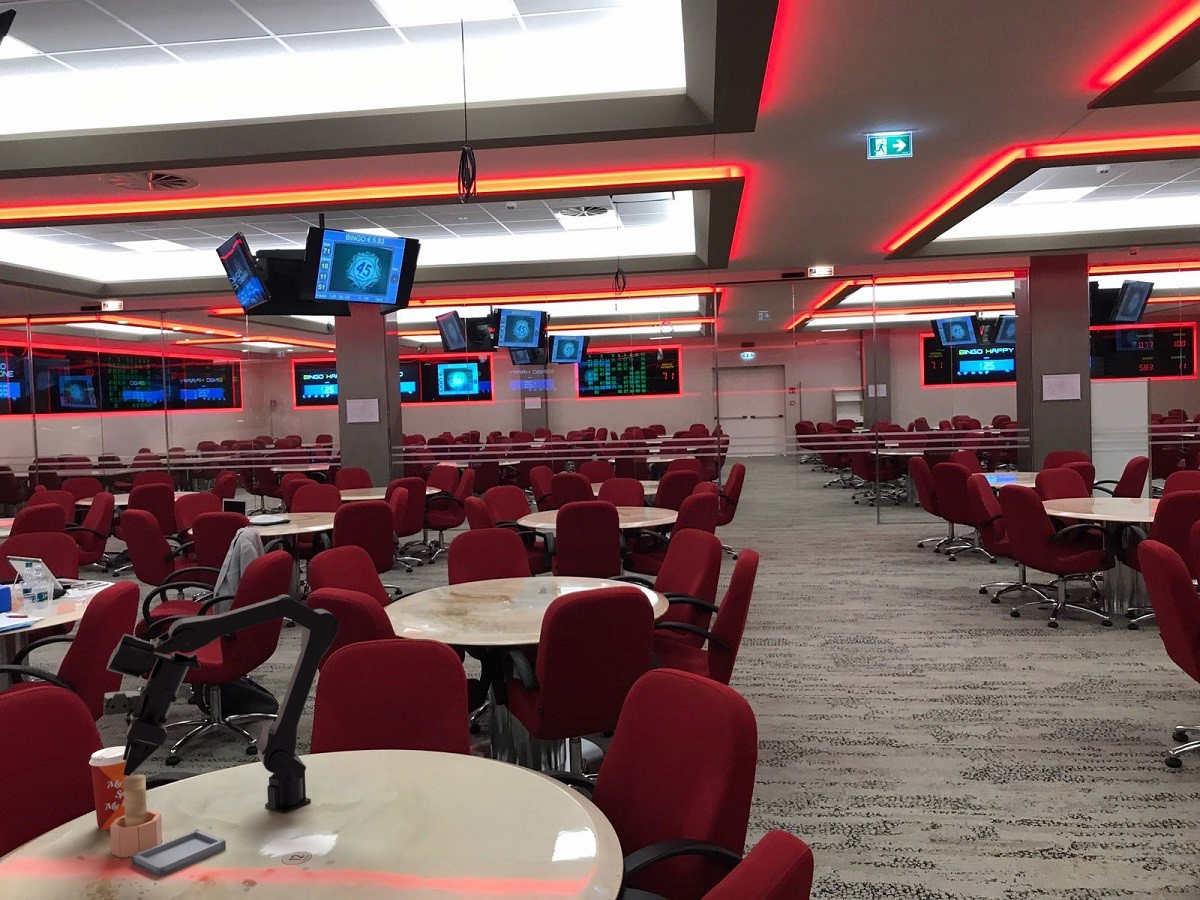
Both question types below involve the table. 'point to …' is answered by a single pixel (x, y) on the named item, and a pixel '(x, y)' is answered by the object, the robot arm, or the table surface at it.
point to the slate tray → (178, 852)
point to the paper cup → (108, 784)
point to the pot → (135, 835)
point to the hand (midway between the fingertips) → (125, 767)
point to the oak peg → (135, 800)
